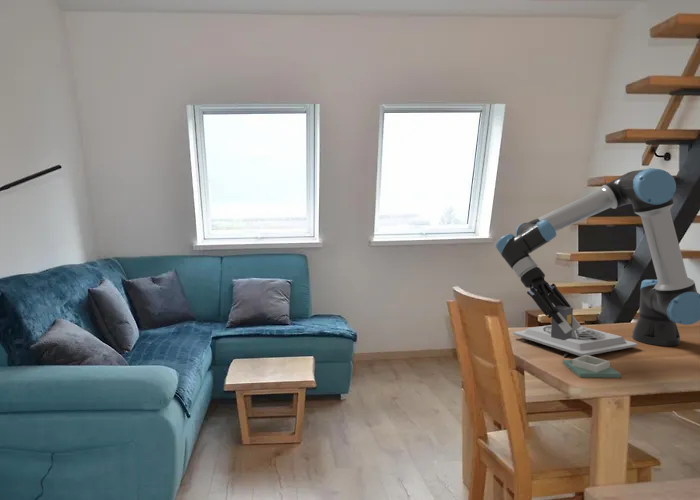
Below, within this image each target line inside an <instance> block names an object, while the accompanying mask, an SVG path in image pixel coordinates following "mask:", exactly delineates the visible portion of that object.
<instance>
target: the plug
mask: <svg viewBox="0 0 700 500" xmlns="http://www.w3.org/2000/svg"><path fill="white" fill-rule="evenodd" d="M554 307H555V309H556V311H557V313H558V312H560V314H561V315H562V316H563V317H564V319H565V320H566V321H567V322H568V324H569V325H570V326H571V328H572V317H573V316H574V315H573V313H574V308H573V307H566V306H561V305H559V306H555V305H554ZM551 325H552V327H551V337H552V338H556V339H560V340H567V339H570V338H572V330H570V331H569V332H568V333H566V334H565V333H564V332H563V330H562V329H561V328H560V326H559V325H558V324H557V323H556V321H555V320H554V319H553V317H551Z"/></svg>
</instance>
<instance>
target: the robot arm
mask: <svg viewBox="0 0 700 500" xmlns="http://www.w3.org/2000/svg"><path fill="white" fill-rule="evenodd" d="M676 189H677V182H676V180H675V178H674V177H673V176H672V174H671V173H670V172H668V171H666V170H664V169H661V168H653V167H652V168H651V167H649V168H646V169H645V168H644V169H638V170H631V171H628V172H626V173H624V174H622V175H621V176H618V177H617V178H615V179H612V180H611V181H609V182H608V183H605V184H602V186H601V188H600V189H598V190H596V191H594V192H592V193H590V194H588V195H585V196H583V197H581V198H578V199H577V200H574V201H572V202H570V203H568V204H566V205H562V206H561V207H559V208H556V209H555V210H553V211H551V212H550V211H549V212H547V213H545V214H543V215H541V216H539V217H537V218H534V219H532V220H531V221H529V222H523V223H520V224H519V225H518V226H517V227H516V229H515V235H514V234H512V233H507V234H506V235H505V234H504V235H503V236H501V237H500V238H499V239H498V240H497V241H496V245H495V247H496V250H498V252H499V254H500V255H501V257H502V258H503V259H504V260H505V262H506V263H507V264H508V265H509V267H510V268H511V270H513V272H514V274H515V275H516V277H518V279H520V281H521V283H522V284H523V285H524V287H525V288H526V289H528V291H527V292H526V293H527V295H528V296H530V298H532V299H533V301H534V303H535V304H536V305H537V307H539V309H540V311H542V312H543V314H544V315H545V316H546V317H547V318H549V319H552V317H553V319H554V320H555V321H556V323H557V324H558V325H559V326H560V328H561V329H562V330H563V332H564V333H565V334H566V333H568V332H569V331H570V330H572V329H573V330H574V331H576V330H577V329H578V328H580V327H581V326H582V325H581V323H580V322H579V321H578V320H577V318H575V316H574V315H573V317H572V328H571V326H570V325H569V324H568V322H567V321H566V320H565V319H564V317H563V316H562V315H561V314H560V312H558V313H557V311H556V309H555V306H559V305H561V306H566V307H571V304H570V303H569V302H568V301H567V299H566V298H565V297H564V295H562V293H561V292H560V290H559V289H558V288H557V286H556V284H555V283H552V284H549V282H548V281H547V280H545V277H546V275H545V273H544V272H543V270H542V269H541V268H540V267H538V266H539V265H538V264H537V262H535V260H534V259H533V258H532V257H531V255H530V254H531V253H532V252H534V251H536V250H537V249H539V248H540V247H542V246H544V245H546V244H547V243H550V242H551V241H552V240H554V238H556V237H557V232H559V231H561V230H563V229H565V228H568V227H570V226H572V225H575V224H577V223H579V222H581V221H584V220H585V219H587V218H591V217H593V216H595V215H597V214H600V213H602V212H603V211H606V210H608V209H614V210H615V209H617V208H620V207H622V206H626V205H631V206H632V210H633V213H634V214H635V215H638V216H639V217H640V219H641V222H642V226H643V230H644V235H645V238H646V241H647V245H648V249H649V252H650V256H651V261H652V264H653V268H654V271H655V275H656V279H644V280H642V281H641V284H640V288H639V290H640V295H639V310H638V318H637V319H638V320H637V322H636V323H635V326H634V328H633V331H632V335H631V337H632V339H633V340H635V341H637V342H641V343H644V344H648V345H654V346H663V347H673V346H678V345H680V344H681V335H680V331H679V329H678V325H677V324H679V325H685V326H686V325H687V326H689V325H693V324H696V323H699V321H700V293H699V292H697V291H698V289H697V287H696V283H695V281H694V280H693V279H691V278H689V277H688V274H687V271H686V267H685V264H684V260H683V256H682V250H681V248H680V244H679V243H680V242H679V238H678V236H677V233H676V228H675V225H674V220H673V217H672V213H671V209H672V207H673V206H674V205H675V203H674V199H673V197H674V194H675V193H676V191H677V190H676ZM571 308H572V307H571Z"/></svg>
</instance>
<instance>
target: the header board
mask: <svg viewBox="0 0 700 500" xmlns="http://www.w3.org/2000/svg"><path fill="white" fill-rule="evenodd" d="M564 364H565V365H566V366H565V365H564ZM562 365H564V366H565V367H566V368H567V369H569V368H570V369H571V370H572V371H571V370H570V369H569V370H570V371H571V372H573V373H574V374H575V373H576V374H577V375H578V377H579V378H609V379H610V378H611V379H612V378H615V379H617V378H618V379H619V378H620V379H621V375H622V374H621V372H619V371H617V370H616V369H615V368H613V367H611V366H610V360H606V359H603V358H600V357H599V358H598V357H595V356H592V355H583V356H578V357H576V358H573V359H563V360H562ZM576 374H575V375H576ZM577 375H576V376H577Z"/></svg>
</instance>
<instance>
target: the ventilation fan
mask: <svg viewBox="0 0 700 500" xmlns="http://www.w3.org/2000/svg"><path fill="white" fill-rule="evenodd" d="M551 327H552V324H549V325H542V326H532V327H527V328H526V329H524V330H517V331H512V336H516V337H520V338H522V339H526V340H529V341H532V342H535V343H538V344H542V345H543V346H544V345H545V346H548V347H551V348H553V349H554V348H555V349H557V350H560V351H564V352H565V353H566V352H569V354H573V355H576V356H578V357H580V356H583V355H589V356H592V355H597V354H603V353H607V352H615V351H618V350H625V349H630V348H635V347H638V343H637V342H634V341H630V340H627V339H625V338H624V337H623V336H621V335H619V334H618V335H617V334H613V333H608V332H605V331H602V330H598V329H593V328H590V327H587V326H586V327H585V326H582V325H581V327H580V328H578V329H577V330H576V331H574V330H573V329H572V338H570V339H567V340H560V339H556V338H552V337H551Z"/></svg>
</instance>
